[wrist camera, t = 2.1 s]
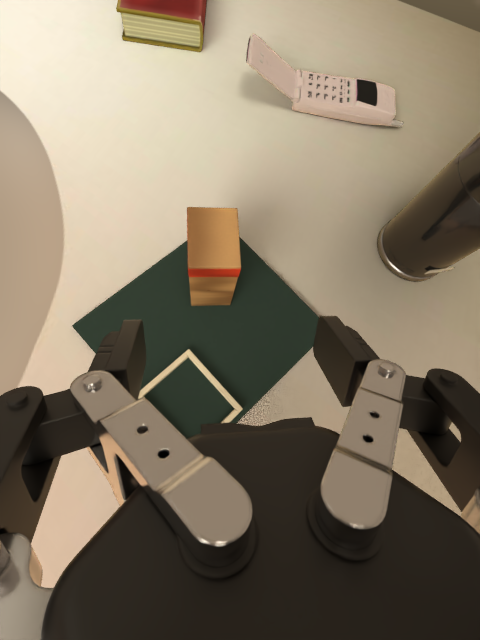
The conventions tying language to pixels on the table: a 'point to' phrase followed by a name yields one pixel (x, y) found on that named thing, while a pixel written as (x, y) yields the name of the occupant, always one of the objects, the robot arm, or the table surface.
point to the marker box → (213, 254)
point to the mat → (208, 339)
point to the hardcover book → (164, 22)
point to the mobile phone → (325, 90)
